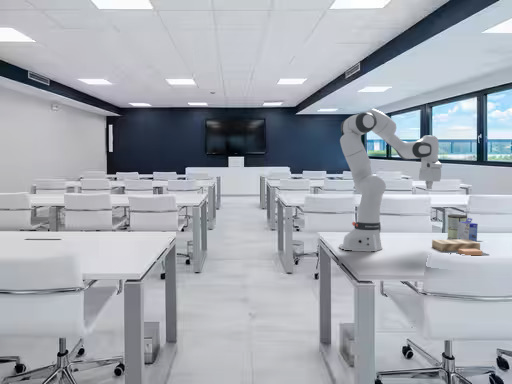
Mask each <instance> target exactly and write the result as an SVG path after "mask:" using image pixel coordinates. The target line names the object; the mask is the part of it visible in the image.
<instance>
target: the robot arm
mask: <svg viewBox="0 0 512 384" xmlns="http://www.w3.org/2000/svg"><path fill="white" fill-rule="evenodd" d="M396 131H397V123H396V122H395V121H394V120H393V119H392V118H391V117H389V116H388V115H387V114H385V113H383V112H382V111H379V110H377V109H375V108H370V109H368V110H366V111H364V112H361V113H358V114H353V115H351V116H349V117H348V118H347V117H346V118H345V119H344V120H343V121H342V122H341V124H340V132H341V137H340V139H339V143H340V147H341V150H342V153H343V155H344V158H345V161H346V163H347V165H348V168H349V170H350V172H351V176H352V180H353V184H354V189H355V191H356V192H357V193H358V194H360V195H361V198H360V202H359V205H358V211H357V212H358V213H357V215H358V216H357V217H358V218H357V221H352V223H351V225H352V226H354V228H353V229H352V230H351V231H349V232H348V233H346V235H344V238H343V241H342V242H343V243H340V244H339V245H338V248H339V247H340V248H341V249H340V248H339V249H340V250H342V249H344V250H343V251H345V250H352V251H351V252H371V251H375V252H377V251H382V250H383V246H382V242H381V241H382V240H381V230H382V229H381V221H380V217H381V211H380V210H381V204H382V199H383V196H384V195H383V194H384V193H385V191H386V188H387V187H386V182H385V180H383V179H382V178H381V177H379V176H377V175H374V174H373V171H372V167H371V164H372V162H371V159H370V157H369V155H368V153H367V151H366V148H365V146H364V143H363V142H362V135H365V134H367V133H368V134H369V133H370V132H372V133H374V134H375V135H376V136H378V137H379V138H380V139H382V140H383V141H384V142H385V143H386V144H387V145H388V146H390V147H391V148H392V149H393V150H395V152H396V153H397V155H398V156H399V158H401V159H403V160H411V159H412V160H414V159H420V162H421V163H420V164H421V165H420V168H419V174H418V179H419V181H424V182H425V185H426V187H425V188H426V190H432V189H433V188H432V187H433V183H434V182H441V178H442V168H443V164H442V163H441V162H440V161H439V145H440V144H439V138H438V137H437V136H436V135H426V134H425V135H423V136H422V137H421V138H419V139H418V140H415V141H404V140H402V139H401V138H400V137H398V136H397V135H396V134H395V133H396Z"/></svg>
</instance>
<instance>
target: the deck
mask: <svg viewBox="0 0 512 384" xmlns="http://www.w3.org/2000/svg"><path fill="white" fill-rule="evenodd" d="M431 248H433V249H436V250H438V251H440V252H444V251H458V249H478V250H481V243H480V242H478V241H477V242H475V241H472V240H469V239H458V240H452V239H432V240H431Z"/></svg>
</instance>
